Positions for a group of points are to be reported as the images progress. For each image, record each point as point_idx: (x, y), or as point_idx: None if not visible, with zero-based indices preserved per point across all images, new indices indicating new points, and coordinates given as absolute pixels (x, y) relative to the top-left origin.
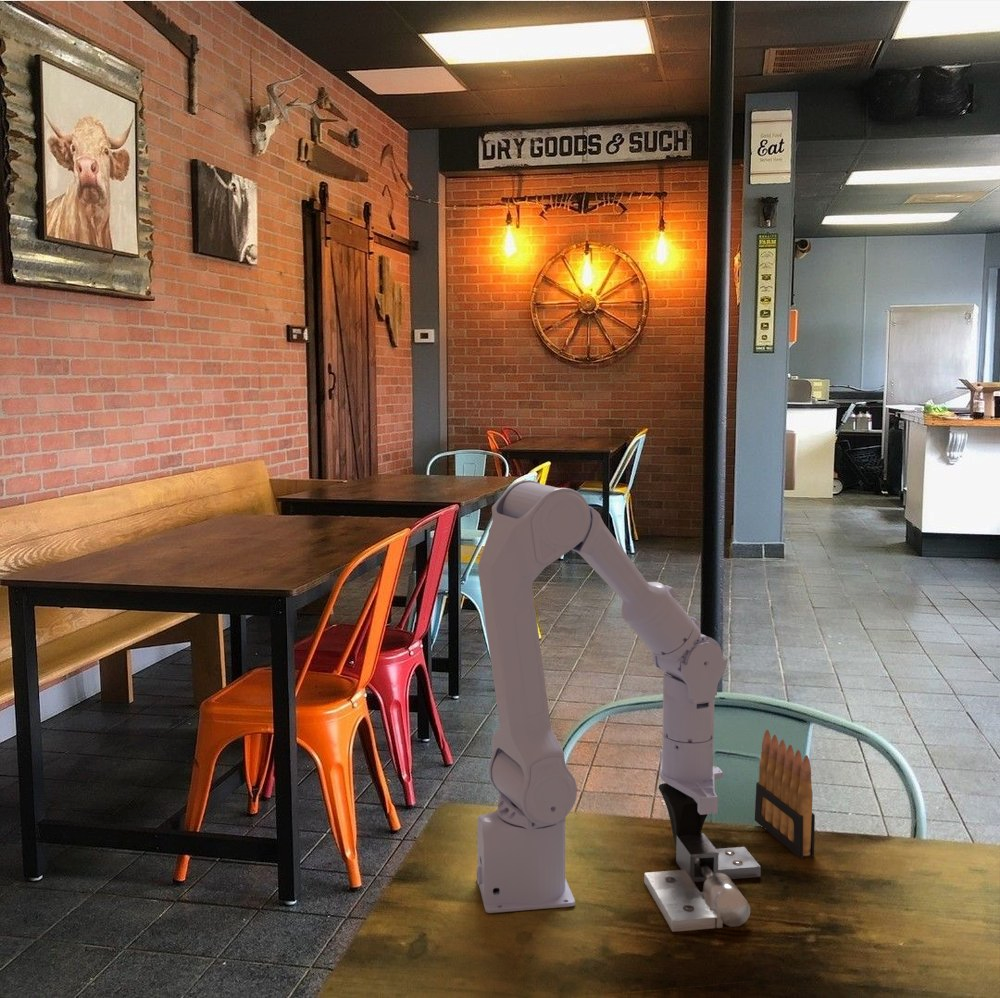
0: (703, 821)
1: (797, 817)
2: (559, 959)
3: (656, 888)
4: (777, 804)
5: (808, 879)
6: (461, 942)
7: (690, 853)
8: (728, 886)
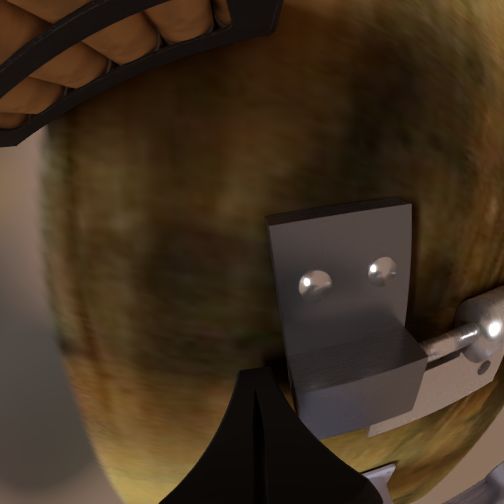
0: (309, 430)
1: None
2: (462, 440)
3: (420, 415)
4: (53, 48)
5: (399, 62)
6: (407, 488)
7: (407, 411)
8: None
